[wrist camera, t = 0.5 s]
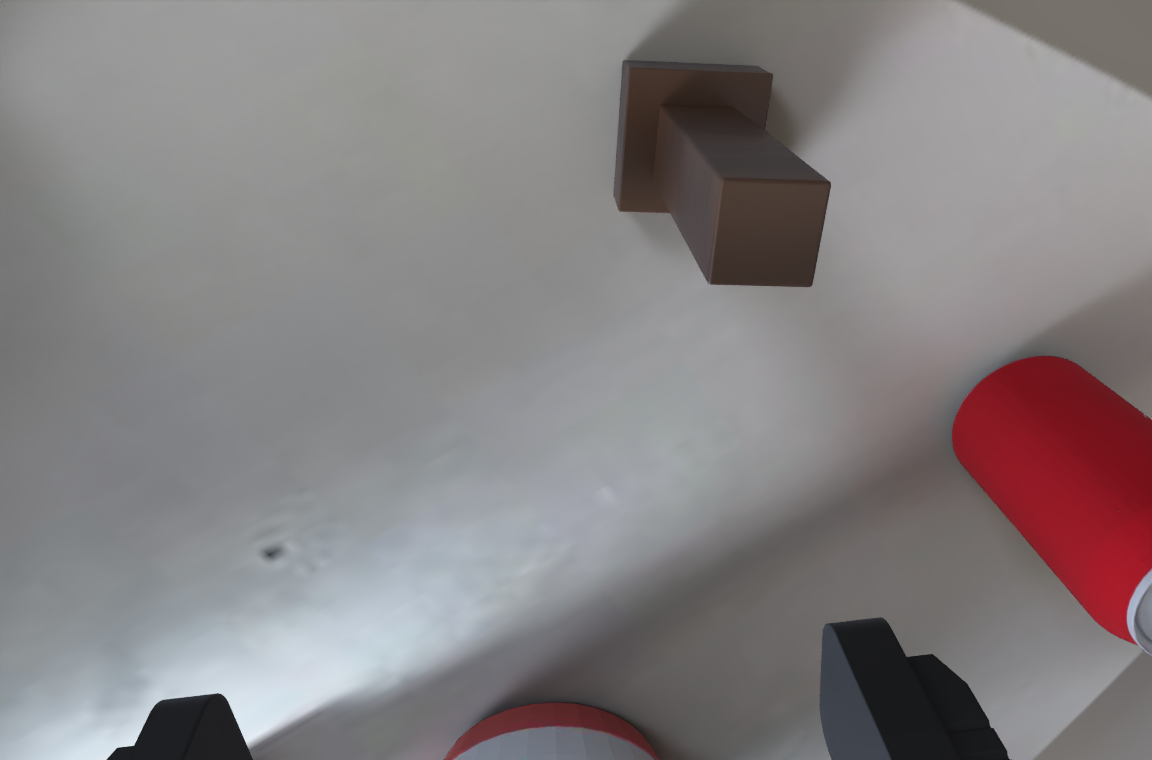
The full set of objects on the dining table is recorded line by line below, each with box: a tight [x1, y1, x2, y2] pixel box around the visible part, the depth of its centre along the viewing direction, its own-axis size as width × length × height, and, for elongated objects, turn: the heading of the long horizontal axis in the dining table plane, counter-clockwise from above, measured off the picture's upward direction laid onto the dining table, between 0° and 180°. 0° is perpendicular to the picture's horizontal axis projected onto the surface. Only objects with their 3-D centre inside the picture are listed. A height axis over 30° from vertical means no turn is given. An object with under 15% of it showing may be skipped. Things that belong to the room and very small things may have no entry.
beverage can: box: [952, 356, 1152, 656], centre depth 31 cm, size 6×6×12 cm
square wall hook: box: [614, 60, 831, 287], centre depth 25 cm, size 5×5×12 cm
